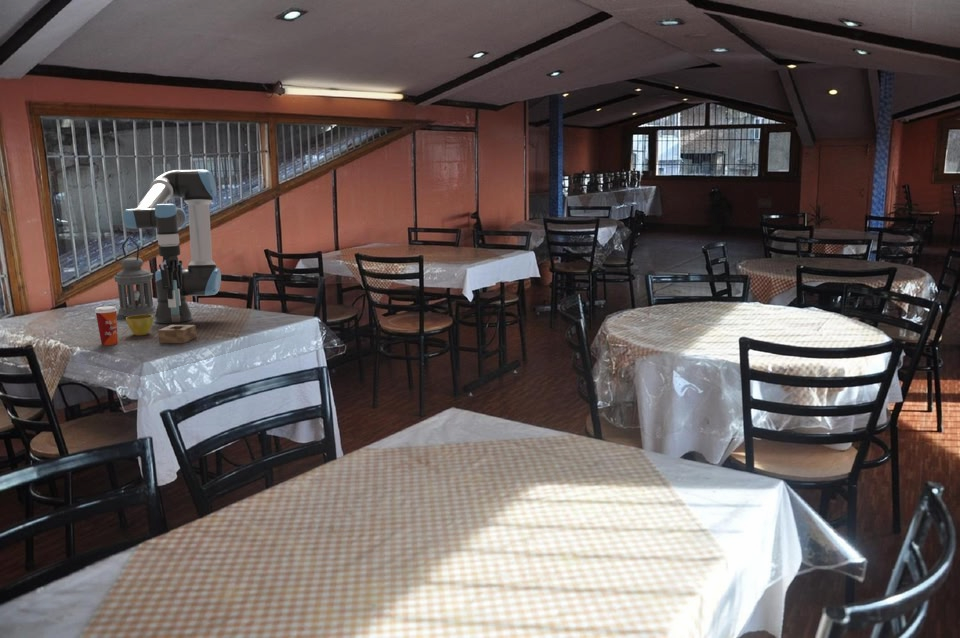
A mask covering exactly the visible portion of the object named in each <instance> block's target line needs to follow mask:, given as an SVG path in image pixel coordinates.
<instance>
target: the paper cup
mask: <svg viewBox="0 0 960 638" xmlns="http://www.w3.org/2000/svg"><path fill="white" fill-rule="evenodd" d="M117 311H118V309H117V308H116V306H114V305H113V306H112V305H111V306H110V305H109V306H108V305H107V306H100V307H99V306H98V307H96V308H95V311H94V313H95V316H96V321H97V327H98V332H99V338H100V342H101V345H102V346H113V345H117V344H118V343H119V341H118V319H117V318H118V317H117V315H118V314H117Z"/></svg>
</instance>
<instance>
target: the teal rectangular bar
mask: <svg viewBox="0 0 960 638" xmlns="http://www.w3.org/2000/svg"><path fill="white" fill-rule="evenodd" d="M173 290H175V299H176V307H171V317H172V322H178V323H181V322H180V313H179V302H178V292H177V281H176V280H173Z"/></svg>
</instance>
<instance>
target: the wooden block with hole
mask: <svg viewBox="0 0 960 638" xmlns="http://www.w3.org/2000/svg"><path fill="white" fill-rule="evenodd" d="M157 334H158V343H159V344H186V343H187V342H189V341H192V340H194V339H196V338H197V329H196V324H170V325H168V326H165V327H163V328H160V329H158V330H157Z"/></svg>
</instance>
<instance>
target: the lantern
mask: <svg viewBox="0 0 960 638" xmlns="http://www.w3.org/2000/svg"><path fill="white" fill-rule="evenodd" d="M129 239H130V241H132V242H133V244H134V246H136V249H137V251H136V257H127V253H126V250H125V245H126V243H127V242H128V241H129ZM121 248H122V253H123V256H124V259H122V261H121V263H120V264H121V267H122V268H123V269H122V270H119V271H118V272H117V273H116V274H115V275H114V276H113V278H114V282H116V283H117V291H118V300H119V308H118V313H117V315H118V316H122V317H129V316H135V315H152V314H154V313H155V314H156V310H157V308H156V305H154V302H153V301H154V300H153V290H152V282H151V281H152V279H153V275H154V273H152V271H150V270H148V269H145V268H142V267H143V265H144V261H143V260H142V258H139V255H140V246H139V243H137V242H136V241H135V240H134V239H133V238H132V237H131V236H128V237H127V238H126V239H125V240H124V242H123V243H122V245H121ZM134 286H135V289H134Z"/></svg>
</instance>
